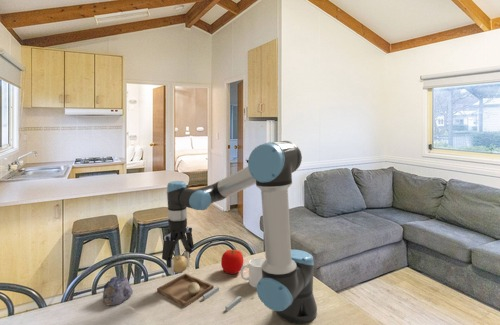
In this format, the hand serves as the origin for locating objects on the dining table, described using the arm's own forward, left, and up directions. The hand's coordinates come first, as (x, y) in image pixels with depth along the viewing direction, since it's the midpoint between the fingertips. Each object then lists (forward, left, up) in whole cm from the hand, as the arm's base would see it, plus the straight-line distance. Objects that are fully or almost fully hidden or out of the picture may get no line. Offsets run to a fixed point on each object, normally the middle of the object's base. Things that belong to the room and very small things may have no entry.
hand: (179, 269), depth 127 cm
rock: (+14, +20, -9) cm, 26 cm away
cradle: (-21, -4, -9) cm, 23 cm away
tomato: (-9, -25, -9) cm, 28 cm away
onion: (0, 0, -1) cm, 1 cm away
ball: (-9, 0, -8) cm, 12 cm away
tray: (-4, 0, -9) cm, 9 cm away
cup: (-24, -22, -9) cm, 33 cm away
